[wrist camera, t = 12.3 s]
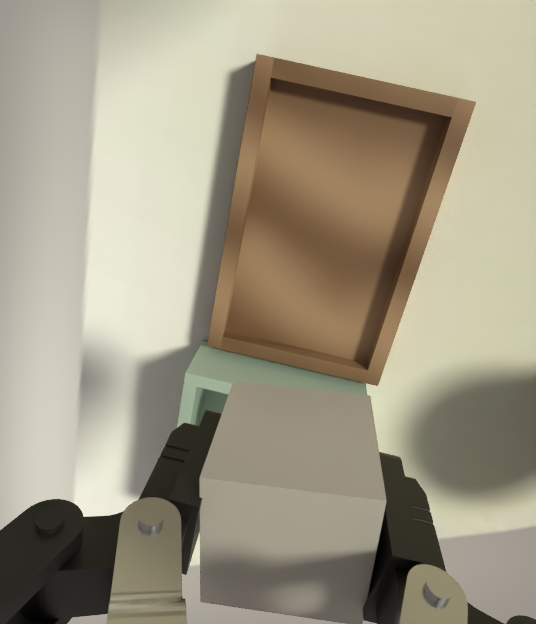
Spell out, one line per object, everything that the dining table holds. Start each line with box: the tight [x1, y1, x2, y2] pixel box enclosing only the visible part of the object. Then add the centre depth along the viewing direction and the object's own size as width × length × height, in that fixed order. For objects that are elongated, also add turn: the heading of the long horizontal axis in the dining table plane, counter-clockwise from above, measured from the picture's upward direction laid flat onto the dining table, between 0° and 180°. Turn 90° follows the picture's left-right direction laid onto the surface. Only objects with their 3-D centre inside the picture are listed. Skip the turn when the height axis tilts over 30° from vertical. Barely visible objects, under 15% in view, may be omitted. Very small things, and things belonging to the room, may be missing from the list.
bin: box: [177, 340, 367, 533], centre depth 28 cm, size 11×10×4 cm
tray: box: [207, 54, 476, 386], centre depth 24 cm, size 15×10×2 cm, turn 168°
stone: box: [200, 381, 387, 624], centre depth 13 cm, size 4×4×4 cm
